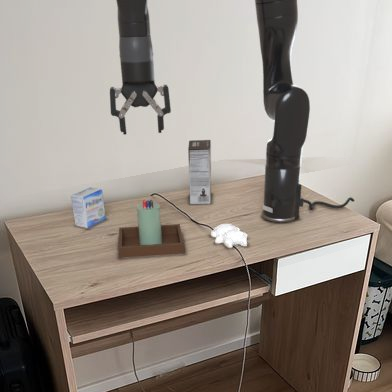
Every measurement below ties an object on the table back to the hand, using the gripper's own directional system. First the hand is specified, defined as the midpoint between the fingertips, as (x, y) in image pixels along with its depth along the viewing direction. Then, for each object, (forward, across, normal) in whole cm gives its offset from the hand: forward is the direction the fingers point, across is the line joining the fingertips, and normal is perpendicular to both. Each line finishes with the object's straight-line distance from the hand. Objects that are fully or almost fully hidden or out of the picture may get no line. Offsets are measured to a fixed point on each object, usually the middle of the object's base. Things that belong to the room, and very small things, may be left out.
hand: (142, 133), depth 133 cm
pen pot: (+24, 0, -13) cm, 27 cm away
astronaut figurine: (+24, +20, -12) cm, 34 cm away
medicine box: (+24, -16, +5) cm, 29 cm away
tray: (+24, 0, -13) cm, 27 cm away
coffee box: (+24, +16, +19) cm, 35 cm away
